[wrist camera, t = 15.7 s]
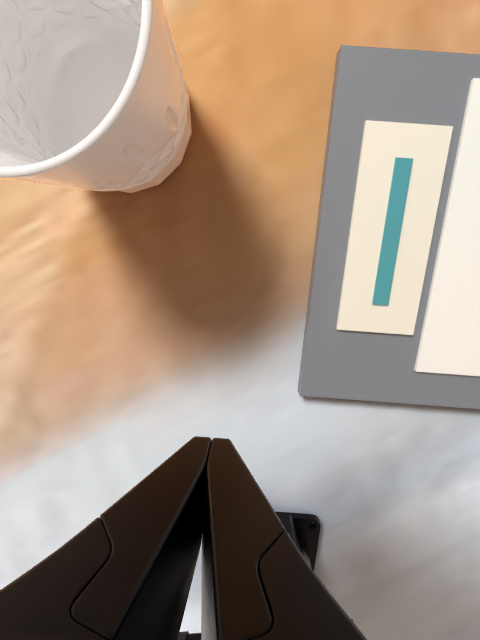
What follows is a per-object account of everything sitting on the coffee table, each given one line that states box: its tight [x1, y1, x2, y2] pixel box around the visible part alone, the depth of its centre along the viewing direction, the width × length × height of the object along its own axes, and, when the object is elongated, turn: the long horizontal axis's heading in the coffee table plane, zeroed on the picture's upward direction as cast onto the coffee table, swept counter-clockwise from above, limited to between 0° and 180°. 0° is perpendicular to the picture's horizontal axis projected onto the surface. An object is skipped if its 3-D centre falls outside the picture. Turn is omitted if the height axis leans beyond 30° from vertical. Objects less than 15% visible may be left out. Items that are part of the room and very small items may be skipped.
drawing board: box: [298, 45, 480, 409], centre depth 18 cm, size 17×16×1 cm
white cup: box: [0, 0, 192, 193], centre depth 13 cm, size 8×8×10 cm
